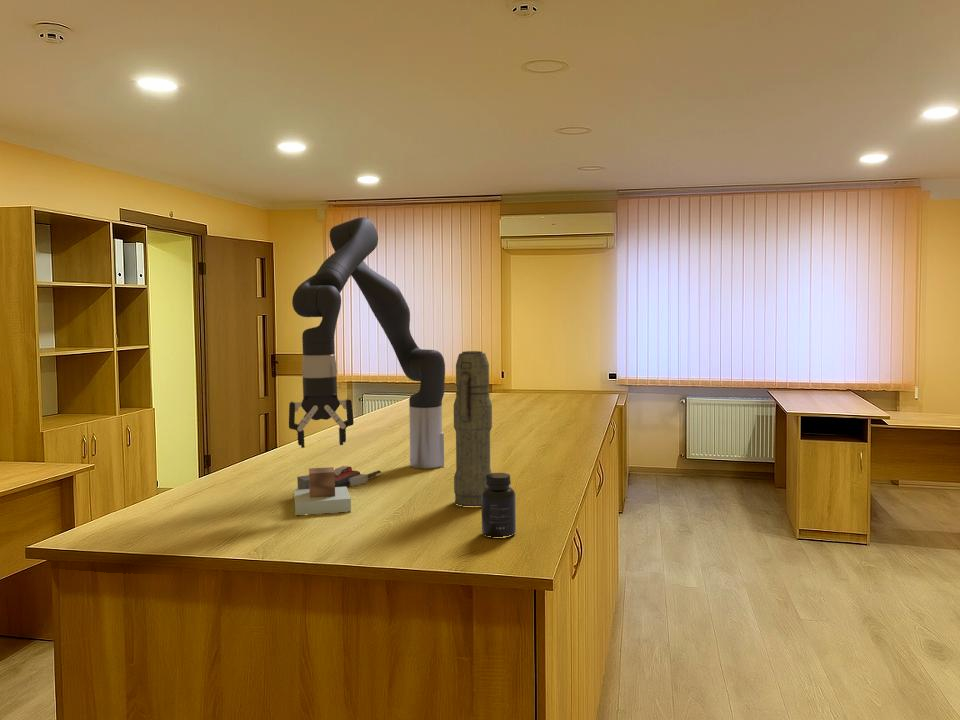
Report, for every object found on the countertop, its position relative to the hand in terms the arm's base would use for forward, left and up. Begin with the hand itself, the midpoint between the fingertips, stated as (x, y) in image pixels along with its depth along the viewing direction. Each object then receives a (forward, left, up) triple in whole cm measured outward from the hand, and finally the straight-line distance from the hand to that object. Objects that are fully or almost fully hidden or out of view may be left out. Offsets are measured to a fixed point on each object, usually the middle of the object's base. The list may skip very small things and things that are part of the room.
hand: (322, 445), depth 174 cm
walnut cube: (0, 0, -11) cm, 11 cm away
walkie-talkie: (-8, -24, -15) cm, 29 cm away
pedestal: (0, 0, -14) cm, 14 cm away
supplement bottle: (-33, +31, -14) cm, 47 cm away
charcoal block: (+2, -10, -14) cm, 18 cm away
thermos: (-34, +6, -14) cm, 37 cm away
